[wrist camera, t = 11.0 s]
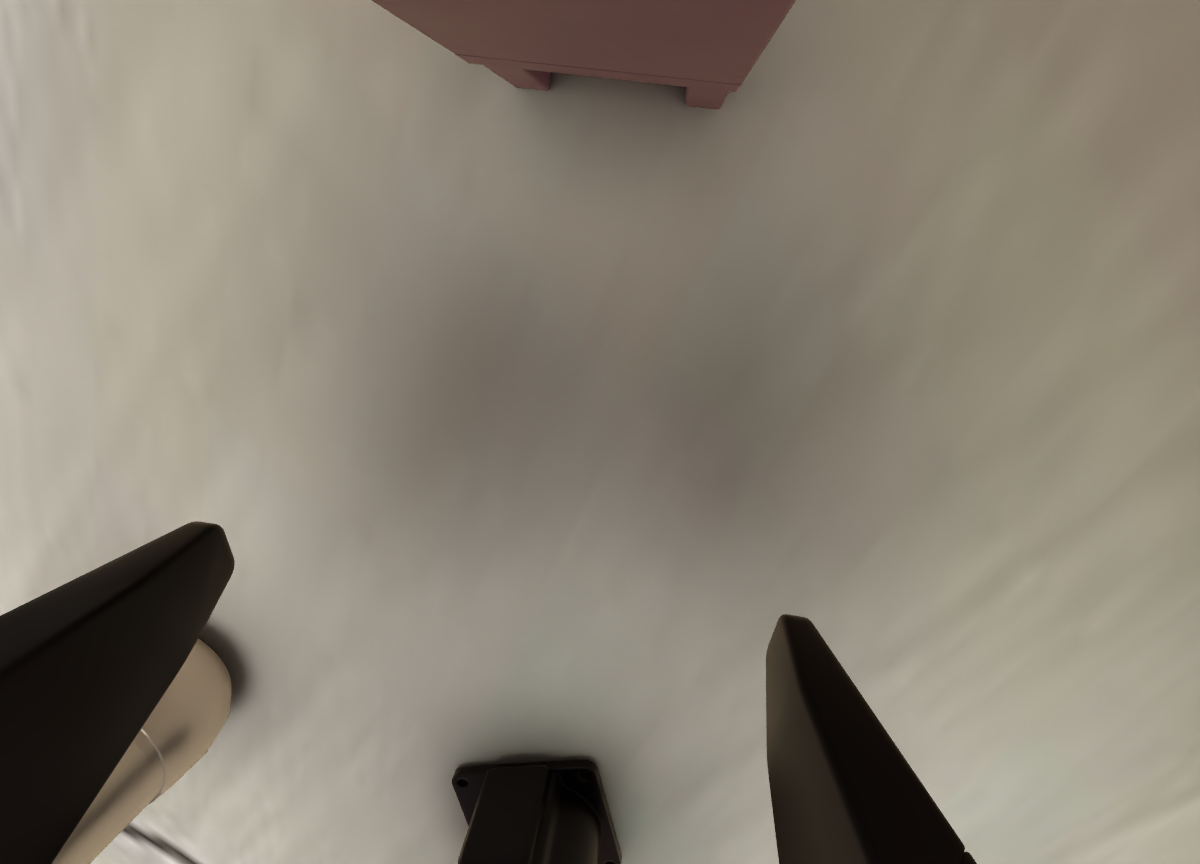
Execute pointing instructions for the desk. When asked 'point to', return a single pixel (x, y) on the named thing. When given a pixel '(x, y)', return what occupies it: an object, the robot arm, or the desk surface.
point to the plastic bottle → (157, 753)
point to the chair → (605, 39)
